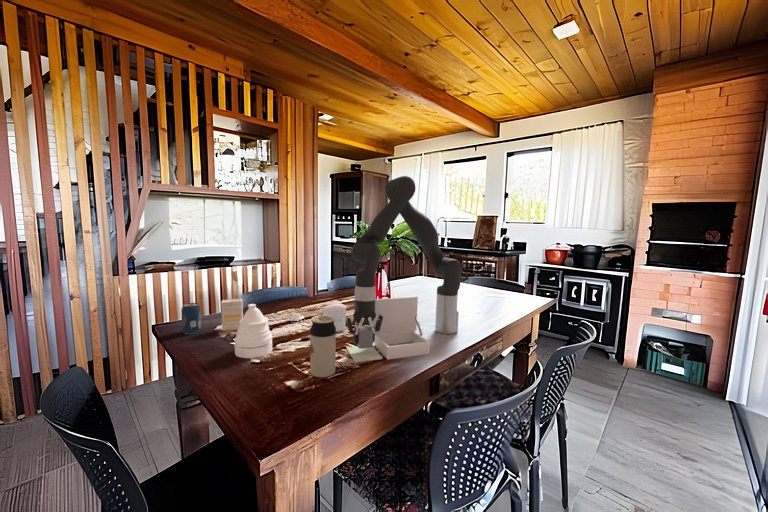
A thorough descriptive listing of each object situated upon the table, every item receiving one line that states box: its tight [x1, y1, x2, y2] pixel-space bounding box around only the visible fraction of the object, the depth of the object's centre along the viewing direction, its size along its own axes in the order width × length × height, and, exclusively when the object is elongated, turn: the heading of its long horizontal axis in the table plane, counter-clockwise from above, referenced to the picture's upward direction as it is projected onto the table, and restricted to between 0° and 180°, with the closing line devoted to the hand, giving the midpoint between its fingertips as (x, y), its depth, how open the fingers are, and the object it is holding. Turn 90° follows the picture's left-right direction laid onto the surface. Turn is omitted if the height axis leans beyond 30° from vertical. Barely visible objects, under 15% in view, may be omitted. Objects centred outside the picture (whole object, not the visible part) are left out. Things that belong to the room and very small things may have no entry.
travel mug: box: [309, 314, 337, 378], centre depth 105 cm, size 8×8×18 cm
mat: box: [346, 346, 383, 363], centre depth 122 cm, size 10×12×1 cm
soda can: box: [181, 302, 202, 335], centre depth 140 cm, size 7×7×12 cm
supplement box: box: [220, 298, 244, 332], centre depth 144 cm, size 8×5×13 cm, turn 108°
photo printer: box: [322, 303, 347, 333], centre depth 145 cm, size 10×4×12 cm, turn 123°
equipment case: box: [373, 296, 431, 360], centre depth 126 cm, size 19×14×18 cm
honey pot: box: [234, 303, 273, 359], centre depth 121 cm, size 13×13×18 cm
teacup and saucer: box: [291, 312, 305, 322], centre depth 159 cm, size 9×8×4 cm
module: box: [356, 326, 374, 349], centre depth 121 cm, size 5×5×6 cm
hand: (364, 343), depth 121 cm, fingers closed on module, 5 cm apart
